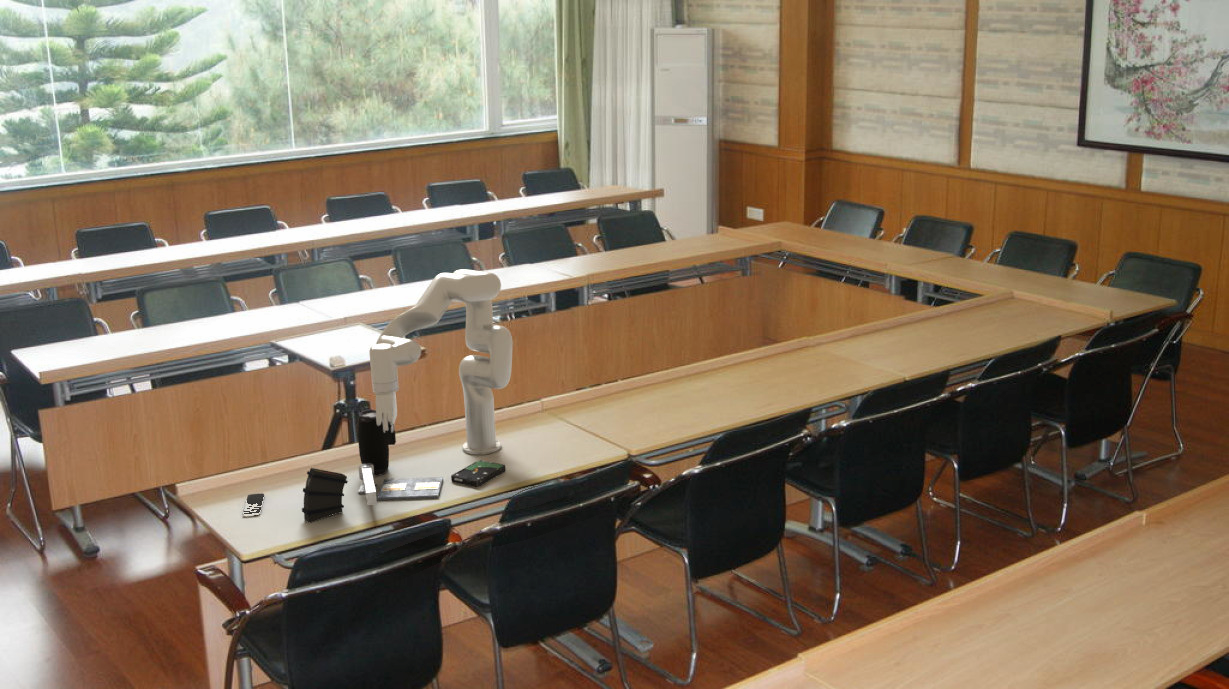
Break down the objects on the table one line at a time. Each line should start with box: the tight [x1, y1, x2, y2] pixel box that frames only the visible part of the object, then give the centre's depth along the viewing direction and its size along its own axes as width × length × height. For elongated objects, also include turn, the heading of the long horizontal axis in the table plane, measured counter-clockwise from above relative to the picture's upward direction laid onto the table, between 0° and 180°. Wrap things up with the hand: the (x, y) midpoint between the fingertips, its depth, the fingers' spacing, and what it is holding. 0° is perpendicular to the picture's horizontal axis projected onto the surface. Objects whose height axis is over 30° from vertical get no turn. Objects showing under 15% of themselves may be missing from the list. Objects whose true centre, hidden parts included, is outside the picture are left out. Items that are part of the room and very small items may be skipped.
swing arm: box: [358, 463, 377, 506], centre depth 352 cm, size 4×23×4 cm, turn 15°
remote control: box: [242, 492, 265, 514], centre depth 353 cm, size 5×2×15 cm
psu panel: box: [376, 476, 444, 501], centre depth 362 cm, size 14×18×1 cm
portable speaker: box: [357, 408, 390, 477], centre depth 374 cm, size 9×9×20 cm
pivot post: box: [357, 482, 379, 495], centre depth 362 cm, size 5×5×4 cm
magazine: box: [301, 467, 349, 523], centre depth 344 cm, size 4×13×15 cm, turn 130°
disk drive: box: [450, 459, 507, 489], centre depth 371 cm, size 10×3×15 cm
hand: (390, 443), depth 357 cm, fingers closed
